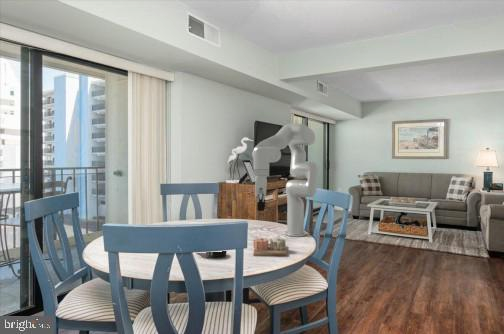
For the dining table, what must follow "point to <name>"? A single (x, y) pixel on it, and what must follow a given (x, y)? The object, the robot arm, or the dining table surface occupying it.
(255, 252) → the gear board
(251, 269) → the dining table surface
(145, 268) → the dining table surface
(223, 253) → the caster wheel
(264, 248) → the terracotta gear
